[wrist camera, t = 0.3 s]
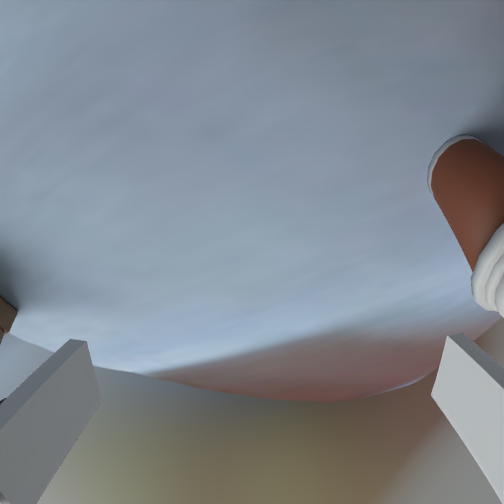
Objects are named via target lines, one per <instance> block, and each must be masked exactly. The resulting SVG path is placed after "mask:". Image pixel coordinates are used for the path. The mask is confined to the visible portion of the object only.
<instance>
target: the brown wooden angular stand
mask: <svg viewBox="0 0 504 504" xmlns="http://www.w3.org/2000/svg"><path fill="white" fill-rule="evenodd" d="M16 315H17V311H16V310H15V309H14V308H13V307H12V306H10V305H9V304H8V303H7V302H6V301H5V300H3V299H2V298H1V297H0V344H1V341H2V338H3V336H4V334H6V333H8V332H9V331H10V329H11V327H12V324H13V322H14V320H15V318H16Z"/></svg>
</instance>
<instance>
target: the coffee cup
mask: <svg viewBox="0 0 504 504" xmlns="http://www.w3.org/2000/svg"><path fill="white" fill-rule="evenodd" d="M427 183H428V186H429V189H430V192H431V194H432V195H433V197H434V198H435V200H436V202H437V203H438V205H439V207H440V209H441V210H442V212H443V214H444V216H445V217H446V219H447V221H448V223H449V225H450V227H451V229H452V230H453V232H454V234H455V236H456V238H457V240H458V242H459V244H460V246H461V248H462V250H463V252H464V254H465V256H466V258H467V261H468V263H469V265H470V267H471V269H472V271H473V274H472V276H471V287H472V295H473V297H474V299H475V301H476V302H477V303H478V304H479V305H481V306H482V307H483V308H484V309H485V310H495V311H499V313H500V315H501V316H502V317H503V318H504V157H503V156H501V155H500V154H499V153H497V152H496V151H494V150H493V149H492V148H490V147H489V146H487V145H486V144H484V143H483V142H482V141H481V140H479V139H477V138H475V137H473V136H471V135H461V136H456V137H454V138H452V139H450V140H448V141H446V142H445V143H444V144H443V145H442V146H441V147H440V148H439V149H438V151H437V152H436V153H435V154H434V156H433V159H432V161H431V163H430V165H429V167H428V178H427Z"/></svg>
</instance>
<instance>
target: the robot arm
mask: <svg viewBox="0 0 504 504" xmlns="http://www.w3.org/2000/svg"><path fill="white" fill-rule="evenodd" d="M431 396H432V397H433V399H434V400H435V401H436V403H437V404H438V406H439V407H440V408H441V410H442V411H443V413H444V414H445V415H446V417H447V418H448V420H449V421H450V423H451V424H452V426H453V427H454V429H455V430H456V432H457V433H458V435H459V436H460V438H461V439H462V440H463V442H464V443H465V445H466V447H467V448H468V450H469V451H470V453H471V454H472V456H473V457H474V459H475V460H476V462H477V463H478V465H479V466H480V468H481V470H482V471H483V472H484V474H485V476H486V477H487V479H488V481H489V482H490V484H491V486H492V487H493V489H494V490H495V492H496V494H497V495H498V497H499V499H500V500H501V502H502V504H504V368H503V367H502V366H500V365H499V364H498V363H497V362H496V361H494V359H492V358H491V357H490V356H489V355H488V354H487V353H486V352H484V351H483V350H482V349H481V348H480V347H479V346H477V345H476V344H475V343H474V342H473V341H472V340H471V339H469V338H468V337H467V336H466V335H465V334H463V333H459V334H453V335H447V339H446V343H445V347H444V351H443V355H442V359H441V363H440V367H439V370H438V374H437V377H436V381H435V384H434V387H433V391H432V394H431ZM102 401H103V398H102V395H101V392H100V389H99V386H98V382H97V379H96V375H95V372H94V368H93V365H92V361H91V357H90V353H89V349H88V345H87V341H82V340H74V339H70V340H69V341H68V342H66V343H65V344H64V345H63V346H62V347H61V348H60V349H59V350H58V351H56V352H55V353H54V354H53V355H52V356H51V357H50V358H49V359H48V360H47V361H46V362H45V363H43V364H42V365H41V366H40V367H39V368H38V369H37V370H36V371H35V372H34V373H33V374H32V375H30V376H29V377H28V378H27V379H26V380H25V381H24V382H23V383H22V384H21V385H20V386H19V387H18V388H17V389H16V390H15V391H14V392H12V393H11V394H10V395H9V396H8V397H7V398H5V399H3V400H1V401H0V502H1V504H37V502H38V500H39V499H40V497H41V496H42V494H43V492H44V491H45V489H46V487H47V486H48V484H49V483H50V481H51V479H52V478H53V476H54V475H55V473H56V472H57V470H58V468H59V467H60V465H61V464H62V462H63V461H64V459H65V457H66V456H67V454H68V453H69V451H70V450H71V448H72V447H73V445H74V443H75V442H76V440H77V439H78V437H79V436H80V434H81V433H82V431H83V430H84V428H85V427H86V425H87V424H88V422H89V421H90V419H91V418H92V416H93V414H94V413H95V412H96V410H97V409H98V407H99V406H100V404H101V403H102Z"/></svg>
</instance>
